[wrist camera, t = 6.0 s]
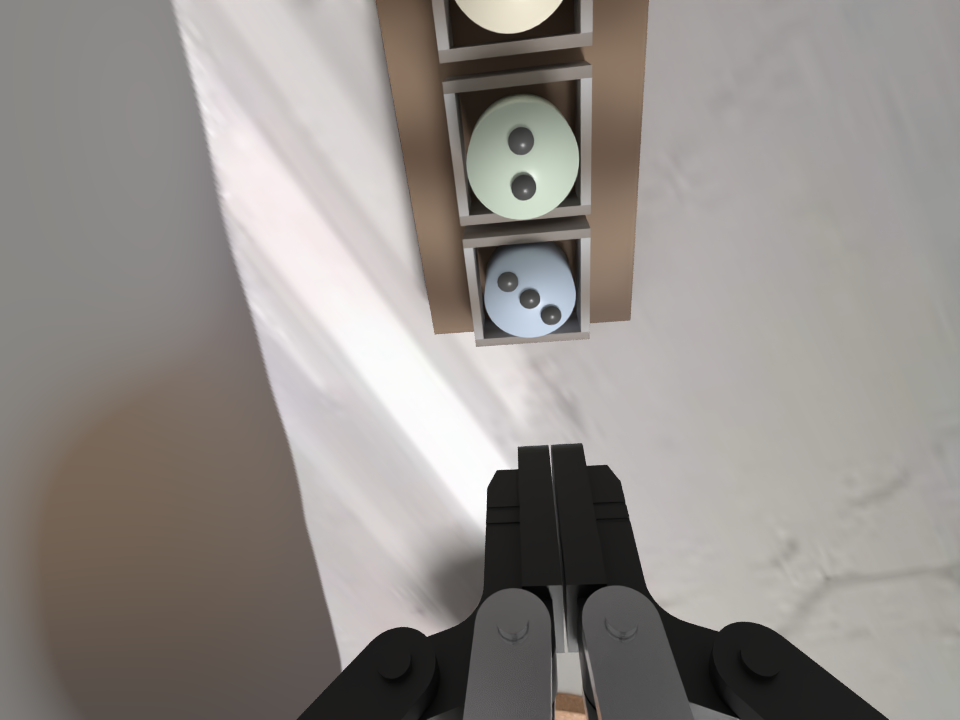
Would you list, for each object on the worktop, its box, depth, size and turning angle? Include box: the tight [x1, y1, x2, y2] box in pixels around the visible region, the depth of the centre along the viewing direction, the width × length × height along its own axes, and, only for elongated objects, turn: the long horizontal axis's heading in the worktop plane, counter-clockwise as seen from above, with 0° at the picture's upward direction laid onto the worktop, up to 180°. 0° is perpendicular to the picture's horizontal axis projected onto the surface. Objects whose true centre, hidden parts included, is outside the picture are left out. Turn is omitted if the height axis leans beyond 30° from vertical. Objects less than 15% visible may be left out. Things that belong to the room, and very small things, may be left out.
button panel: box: [376, 0, 649, 347], centre depth 22 cm, size 18×10×4 cm, turn 6°
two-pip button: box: [466, 93, 579, 220], centre depth 20 cm, size 4×4×3 cm
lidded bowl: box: [555, 611, 586, 720], centre depth 41 cm, size 13×13×11 cm
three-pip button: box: [484, 241, 576, 338], centre depth 24 cm, size 4×4×3 cm
